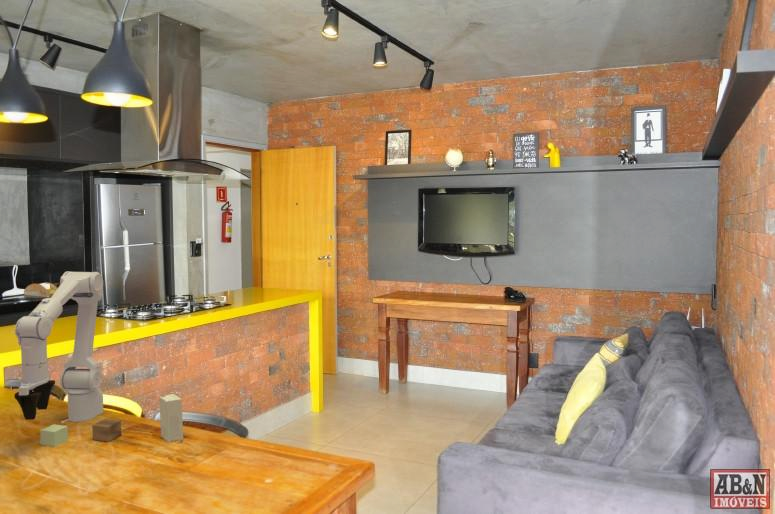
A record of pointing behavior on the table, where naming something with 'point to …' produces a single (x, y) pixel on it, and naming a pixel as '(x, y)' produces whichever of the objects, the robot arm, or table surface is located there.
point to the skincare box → (171, 418)
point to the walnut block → (106, 430)
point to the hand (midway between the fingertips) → (36, 414)
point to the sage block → (54, 435)
